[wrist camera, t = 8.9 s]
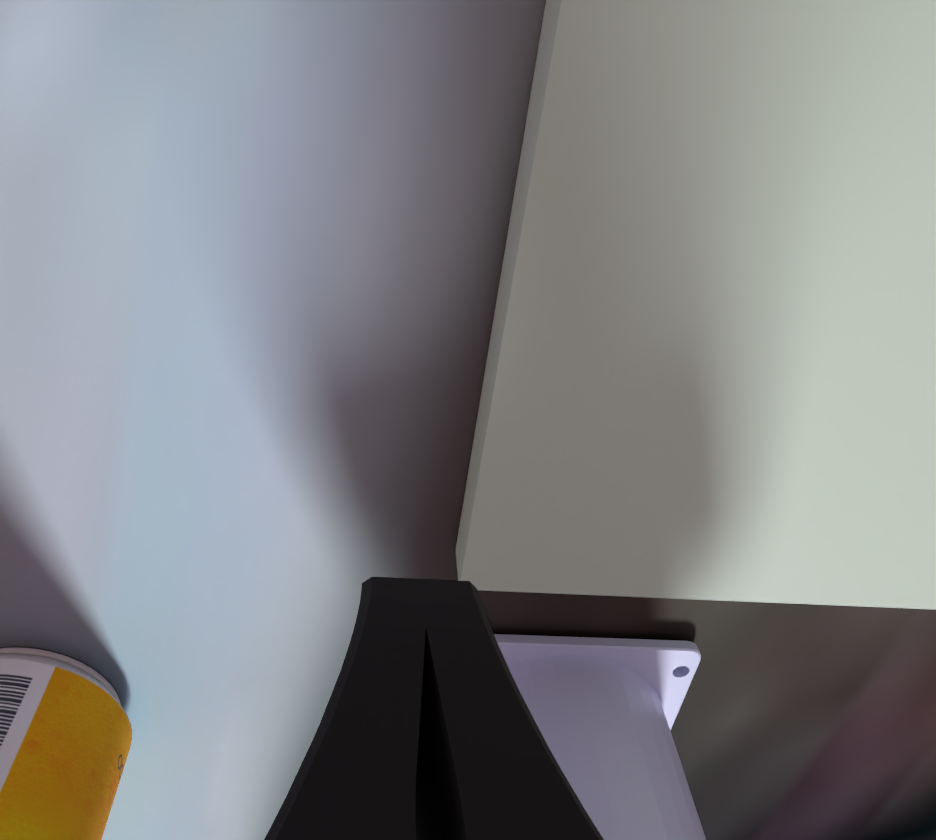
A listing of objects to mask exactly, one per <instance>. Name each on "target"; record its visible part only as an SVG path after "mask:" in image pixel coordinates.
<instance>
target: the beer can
mask: <svg viewBox="0 0 936 840" xmlns="http://www.w3.org/2000/svg"><path fill="white" fill-rule="evenodd" d="M131 741H132V729H131V724H130V721H129V719H128V716H127V714H126V713H125V711H124V709H123V708H122V707H121V703H120V700H119V698H118V695H117V693H116V692H115V690H114V688H113V687H112V686H111V685H110V683H109V682H108V681H107V680H106V679H105V678H104V677H103V676H101V675H100V674H99V673H98V672H96V671H95V670H93V669H92V668H90V667H89V666H87V665H85V664H83V663H81V662H79V661H77V660H75V659H72V658H70V657H67V656H64V655H61V654H58V653H54V652H51V651H46V650H40V649H33V648H18V647H17V648H0V840H101V839H102V835H103V832H104V829H105V826H106V823H107V819H108V816H109V813H110V810H111V807H112V803H113V800H114V797H115V794H116V791H117V787H118V784H119V781H120V778H121V775H122V772H123V768H124V765H125V762H126V759H127V756H128V752H129V749H130V746H131Z"/></svg>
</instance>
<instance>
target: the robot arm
mask: <svg viewBox="0 0 936 840" xmlns="http://www.w3.org/2000/svg"><path fill="white" fill-rule="evenodd" d="M700 660H701V655H700V652H699V650H698V647H697V645H696V644H695V643H693V642H690V641H680V640H651V639H622V638H593V637H564V636H536V635H507V634H493V631H492V629H491V626H490V624H489V621H488V619H487V616H486V614H485V611H484V608H483V605H482V603H481V600H480V597H479V594H478V591H477V588H476V587H475V586H474V585H473V584H472V583H471V582H470V581H456V580H433V579H410V578H387V577H371V578H370V579H368V580H367V581H365V582H363V583H362V591H361V600H360V605H359V610H358V615H357V619H356V623H355V627H354V631H353V634H352V638H351V641H350V644H349V647H348V651H347V654H346V657H345V660H344V663H343V666H342V669H341V672H340V674H339V677H338V679H337V682H336V684H335V687H334V690H333V692H332V695H331V697H330V700H329V702H328V705H327V707H326V710H325V713H324V715H323V718H322V720H321V723H320V725H319V727H318V730H317V732H316V734H315V737H314V739H313V741H312V743H311V745H310V747H309V749H308V752H307V754H306V756H305V758H304V760H303V762H302V764H301V767H300V769H299V771H298V773H297V775H296V777H295V779H294V782H293V784H292V786H291V788H290V790H289V792H288V794H287V797H286V799H285V801H284V803H283V805H282V807H281V809H280V811H279V812H278V814H277V816H276V818H275V820H274V822H273V824H272V826H271V828H270V830H269V832H268V834H267V836H266V838H265V839H264V840H706V838H705V835H704V832H703V829H702V826H701V823H700V820H699V817H698V814H697V811H696V808H695V805H694V801H693V798H692V795H691V792H690V789H689V786H688V783H687V780H686V777H685V774H684V771H683V768H682V765H681V762H680V759H679V756H678V753H677V750H676V747H675V744H674V741H673V737H672V734H671V731H670V730H671V728H672V726H673V723H674V721H675V719H676V716H677V714H678V712H679V709H680V707H681V705H682V702H683V700H684V698H685V695H686V693H687V691H688V688H689V686H690V683H691V681H692V679H693V676H694V674H695V672H696V669H697V667H698V665H699V662H700Z"/></svg>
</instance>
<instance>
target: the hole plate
mask: <svg viewBox="0 0 936 840" xmlns="http://www.w3.org/2000/svg"><path fill="white" fill-rule="evenodd" d="M455 551H456V562H457V573H458V581H470V582H471V583H472V584H473V585H474V586H475V587H476V588H477V590H483V591H507V592H530V593H554V594H578V595H602V596H626V597H650V598H674V599H698V600H721V601H745V602H769V603H793V604H817V605H841V606H865V607H889V608H912V609H936V0H546V4H545V10H544V16H543V22H542V28H541V34H540V40H539V46H538V52H537V58H536V64H535V70H534V76H533V82H532V89H531V95H530V101H529V107H528V113H527V119H526V125H525V131H524V137H523V143H522V149H521V155H520V161H519V167H518V173H517V180H516V186H515V192H514V198H513V204H512V210H511V216H510V222H509V228H508V234H507V240H506V246H505V252H504V258H503V265H502V271H501V277H500V283H499V289H498V295H497V301H496V307H495V313H494V319H493V325H492V331H491V337H490V343H489V349H488V356H487V362H486V368H485V374H484V380H483V386H482V392H481V398H480V404H479V410H478V416H477V422H476V428H475V434H474V441H473V447H472V453H471V459H470V465H469V471H468V477H467V483H466V489H465V495H464V501H463V507H462V513H461V519H460V525H459V532H458V538H457V544H456V550H455Z"/></svg>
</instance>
